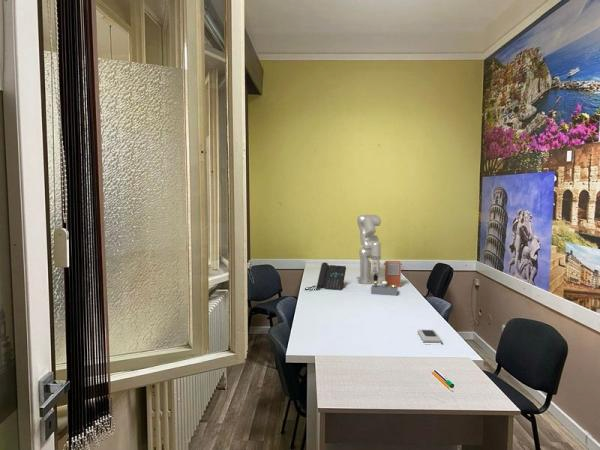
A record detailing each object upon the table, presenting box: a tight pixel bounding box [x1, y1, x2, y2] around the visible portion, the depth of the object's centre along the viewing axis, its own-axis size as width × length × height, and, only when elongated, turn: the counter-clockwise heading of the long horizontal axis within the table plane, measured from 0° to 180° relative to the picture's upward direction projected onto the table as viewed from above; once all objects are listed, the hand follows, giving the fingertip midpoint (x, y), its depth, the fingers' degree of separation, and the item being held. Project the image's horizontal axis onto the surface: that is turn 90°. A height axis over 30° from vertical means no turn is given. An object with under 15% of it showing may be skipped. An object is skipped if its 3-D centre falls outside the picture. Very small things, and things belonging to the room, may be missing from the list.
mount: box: [370, 284, 399, 296], centre depth 315 cm, size 20×10×5 cm, turn 74°
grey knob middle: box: [381, 280, 387, 288], centre depth 314 cm, size 4×4×6 cm
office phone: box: [304, 262, 347, 291], centre depth 331 cm, size 29×28×20 cm
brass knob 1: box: [372, 280, 379, 287], centre depth 316 cm, size 4×4×6 cm
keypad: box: [417, 329, 443, 344], centre depth 218 cm, size 10×4×15 cm
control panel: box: [383, 260, 403, 288], centre depth 337 cm, size 21×7×15 cm
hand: (375, 280), depth 316 cm, fingers closed
